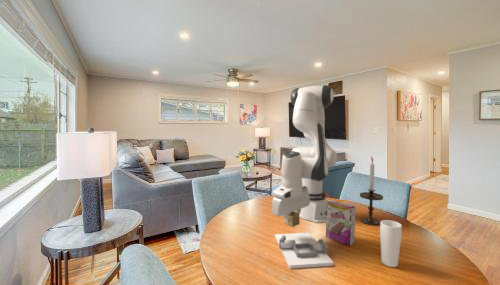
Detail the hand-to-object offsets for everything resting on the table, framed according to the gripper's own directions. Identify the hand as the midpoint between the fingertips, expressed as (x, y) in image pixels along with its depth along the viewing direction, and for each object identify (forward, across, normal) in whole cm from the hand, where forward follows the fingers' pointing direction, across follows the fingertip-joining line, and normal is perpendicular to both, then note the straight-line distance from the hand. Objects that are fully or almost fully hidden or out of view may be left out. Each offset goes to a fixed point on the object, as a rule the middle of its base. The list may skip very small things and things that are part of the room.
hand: (292, 220), depth 101 cm
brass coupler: (+2, 0, 0) cm, 2 cm away
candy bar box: (+10, -17, +12) cm, 23 cm away
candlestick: (+11, -48, +11) cm, 51 cm away
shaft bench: (+9, +3, +8) cm, 12 cm away
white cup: (+10, -15, +33) cm, 38 cm away
